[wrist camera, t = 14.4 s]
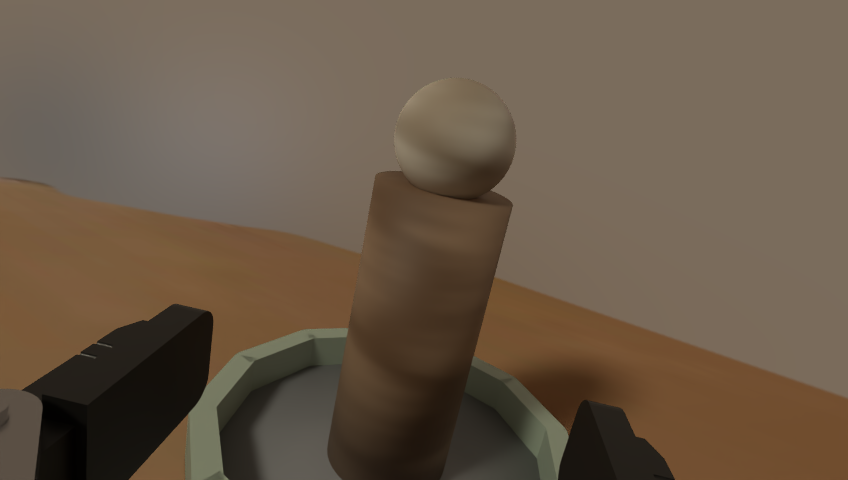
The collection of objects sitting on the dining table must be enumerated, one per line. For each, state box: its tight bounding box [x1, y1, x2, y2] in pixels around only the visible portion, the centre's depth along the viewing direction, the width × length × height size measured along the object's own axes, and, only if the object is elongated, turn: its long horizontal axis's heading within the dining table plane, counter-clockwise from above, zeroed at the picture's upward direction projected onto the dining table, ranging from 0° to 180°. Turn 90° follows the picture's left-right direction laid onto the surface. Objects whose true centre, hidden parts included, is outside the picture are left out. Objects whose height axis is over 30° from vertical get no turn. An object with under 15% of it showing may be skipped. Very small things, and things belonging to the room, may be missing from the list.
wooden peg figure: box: [327, 78, 516, 480], centre depth 20 cm, size 5×5×16 cm
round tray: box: [185, 328, 569, 480], centre depth 23 cm, size 16×16×2 cm
